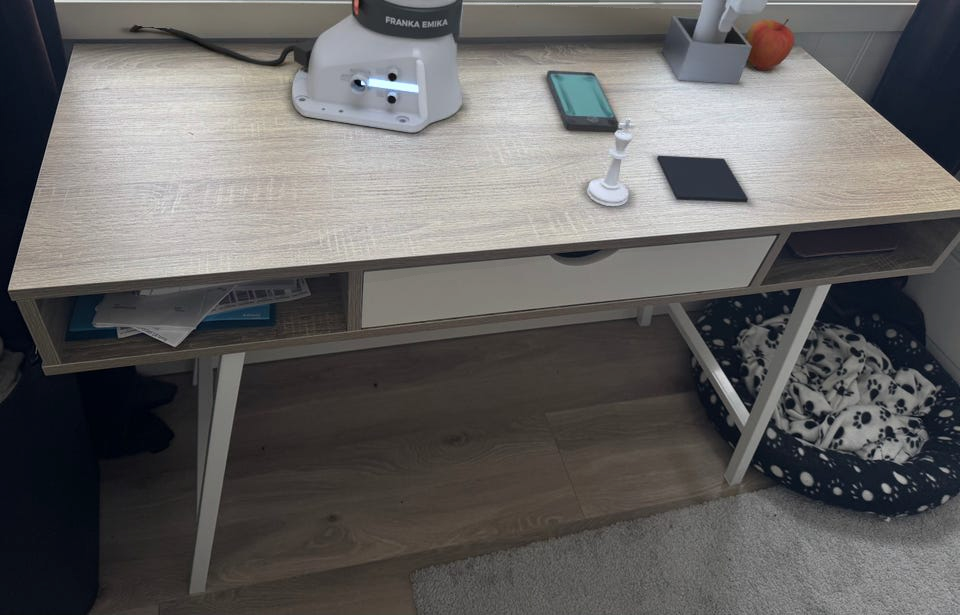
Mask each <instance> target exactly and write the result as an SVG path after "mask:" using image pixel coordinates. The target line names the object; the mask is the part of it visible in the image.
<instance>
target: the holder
mask: <svg viewBox="0 0 960 615" xmlns="http://www.w3.org/2000/svg"><path fill="white" fill-rule="evenodd" d="M698 19H699V17H697V16H695V17H694V16H683V15H682V16H681V15H672V16H671V18H670V22H669V26H668V29H667V32H666V35H665V39H664V43H663V47H662V50H661V53H662V55H663V57H664V58H665V60H666V62H667V63H668V65H669V67H670V68H671V70H672V72H673V73H674V76H675V77H676V78H677V80H678V81H683V82H684V81H685V82H700V83H715V84H716V83H717V84H731V85H733V84H734V85H738V84H739V82H740V80H741V77H742V74H743V72H744V69H745V67H746V64H747V61H748V56H749V53H750V51H751V48H752V46H751V45H750V44H749V43H748V41H747V40H746V39H745V36H744V35H743V34H742V33H741V31H740V30H739V29H738V27H737V26H735V24H734V23H733V25H732V28H731V30H730V31H729V32H728V33H727V36H726V38H725V41H724V43H713V42H699V41H693V40H692V37H693V34H694V31H695V28H696V25H697V22H698Z"/></svg>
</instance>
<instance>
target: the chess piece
mask: <svg viewBox="0 0 960 615" xmlns="http://www.w3.org/2000/svg"><path fill="white" fill-rule="evenodd" d="M618 123H619V124H618V129H617V131H616V132H614V147H612V148H610V150H609V151H608V154H609V155H610V156H611V157H612V159H611V161H610V164H609V167H608V169H607V172H606V174H605V176H604V177H598V178H595V179H593V180H591V181H590V182H589V184H588V186H587V189H586V193H587V196H588V197H589V198H590V199H591V200H592V201H593V202H595V203H597V204H600V205H602V206H607V207H620V206H622V205H625V204H626V203H627V202H628V199H629V194H630V192H629V190H628V188H627V186H626V185H624V183H622V182H620V181H619V177H620V170H621V165H622V160H625V159H627V158H628V157H629V154H628V151H627V150H626V149H627V147H628V145H629V144H630V143H631V141H632V140H633V137H634V136H633V134H632V133H631V132H630V131H628V130H634V129H635V123H632V122H631V118H630V117H625V120H624V122H618Z"/></svg>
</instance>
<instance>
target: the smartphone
mask: <svg viewBox="0 0 960 615" xmlns="http://www.w3.org/2000/svg"><path fill="white" fill-rule="evenodd" d="M545 79H546V82H547V84H548V86H549V89H550V91H551V95H552V96H553V99H554V103H555V104H556V107H557V110H558V111H559V115H560V117H561V120H562V123H563V125H564V128H565V129H566V130H567V131H574V132H602V133H615V132H616V131H618V129H619V127H618V124H619V123H620V122H619V121H618V119H617V117H616V115H615V113H614V111H613V109H612V107H611V105H610V103H609V101H608V99H607V97H606V94H605V93H604V91H603V88H602V86H601V84H600V82H599V80H598V78H597V76H596V74H595V73H593V72H591V71H573V70H572V71H571V70H547V72H546V77H545Z"/></svg>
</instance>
